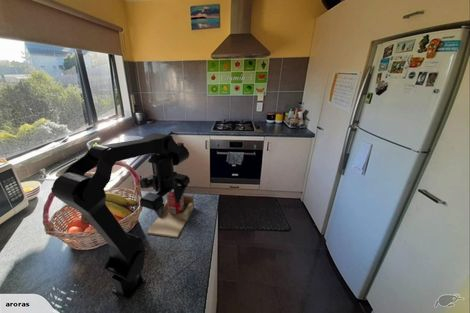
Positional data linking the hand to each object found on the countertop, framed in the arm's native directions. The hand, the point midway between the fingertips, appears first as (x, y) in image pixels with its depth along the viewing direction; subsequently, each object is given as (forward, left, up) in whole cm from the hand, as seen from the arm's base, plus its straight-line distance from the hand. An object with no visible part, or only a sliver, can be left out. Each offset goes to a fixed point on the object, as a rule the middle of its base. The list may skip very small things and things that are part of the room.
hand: (169, 209), depth 71 cm
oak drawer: (+9, +7, -13) cm, 17 cm away
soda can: (+13, +8, -12) cm, 20 cm away
